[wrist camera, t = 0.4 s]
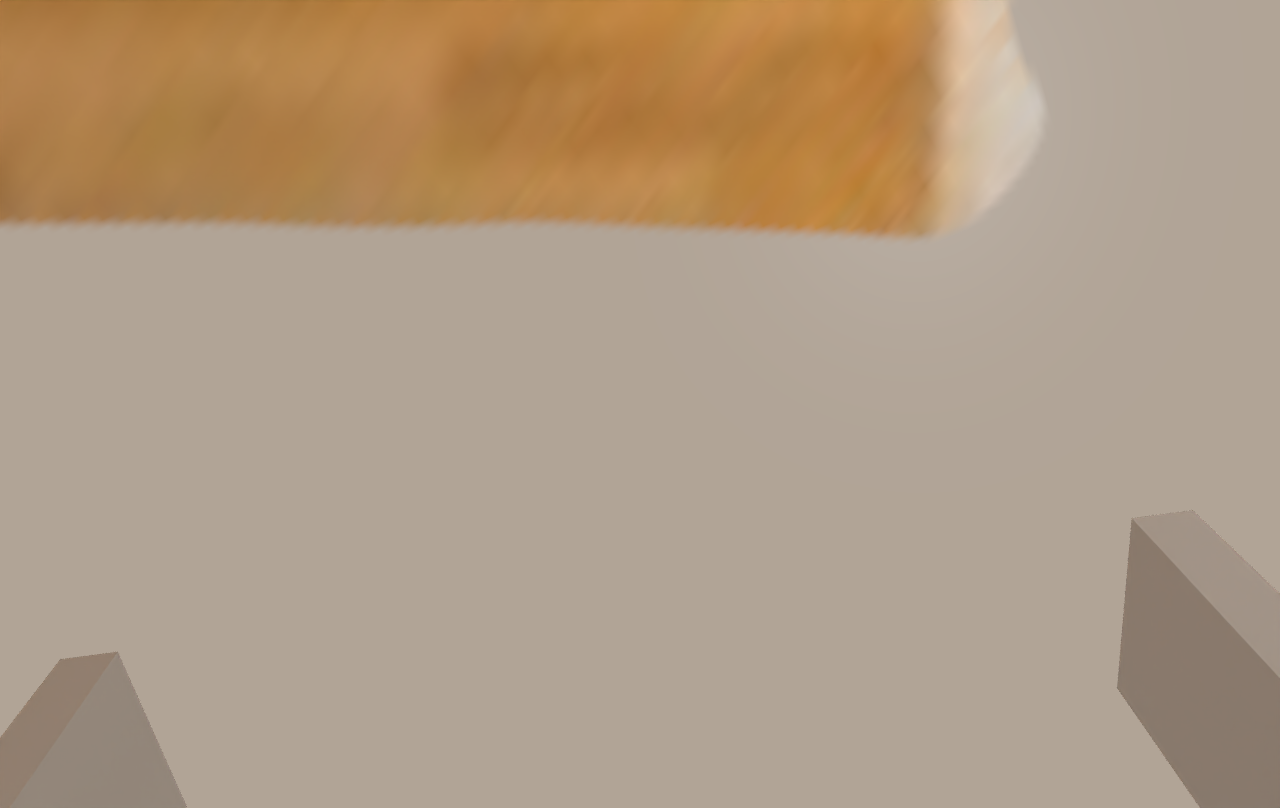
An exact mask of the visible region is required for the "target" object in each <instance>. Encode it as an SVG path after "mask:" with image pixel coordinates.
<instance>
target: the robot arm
mask: <svg viewBox="0 0 1280 808" xmlns="http://www.w3.org/2000/svg"><path fill="white" fill-rule="evenodd" d="M1117 689H1118V690H1119V692H1120V693H1121V694H1122V696H1123V697H1124V699H1125V700H1126V702H1127V703H1128V705H1129V706H1130V707H1131V709H1132V710H1133V712H1134V713H1135V715H1136V716H1137V717H1138V719H1139V720H1140V722H1141V723H1142V725H1143V726H1144V727H1145V729H1146V730H1147V732H1148V733H1149V735H1150V736H1151V737H1152V739H1153V741H1154V742H1155V743H1156V745H1157V746H1158V748H1159V749H1160V751H1161V752H1162V754H1163V755H1164V756H1165V758H1166V759H1167V761H1168V762H1169V764H1170V765H1171V767H1172V768H1173V769H1174V771H1175V772H1176V774H1177V775H1178V777H1179V778H1180V779H1181V781H1182V782H1183V784H1184V785H1185V787H1186V788H1187V789H1188V791H1189V793H1190V794H1191V795H1192V797H1193V798H1194V799H1195V801H1196V803H1197V804H1198V805H1199V807H1200V808H1280V593H1279V592H1278V591H1277V590H1276V589H1275V588H1274V587H1273V586H1271V585H1270V584H1269V583H1268V582H1267V581H1266V580H1265V579H1264V578H1263V577H1262V576H1261V575H1260V574H1259V573H1258V572H1257V571H1256V570H1255V569H1254V568H1253V567H1252V566H1251V565H1249V564H1248V563H1247V562H1246V561H1245V560H1244V559H1243V558H1242V557H1241V556H1240V555H1239V554H1238V553H1237V552H1236V551H1235V550H1234V549H1233V548H1232V547H1231V546H1230V545H1229V544H1227V542H1226V541H1224V540H1223V539H1222V538H1221V537H1220V536H1219V535H1218V534H1217V533H1216V532H1215V531H1214V530H1213V529H1212V528H1211V527H1210V526H1209V525H1208V524H1207V523H1205V522H1204V520H1202V519H1201V518H1200V517H1199V516H1198V515H1197V514H1196V513H1195V512H1194V511H1193V510H1190V511H1183V512H1176V513H1168V514H1160V515H1152V516H1145V517H1137V518H1132V522H1131V533H1130V545H1129V557H1128V569H1127V579H1126V591H1125V604H1124V614H1123V626H1122V638H1121V650H1120V661H1119V672H1118V684H1117ZM186 807H187V806H186V804H185V801H184V799H183V797H182V795H181V792H180V790H179V788H178V786H177V784H176V781H175V779H174V777H173V775H172V772H171V770H170V768H169V766H168V764H167V761H166V759H165V757H164V755H163V752H162V750H161V748H160V746H159V743H158V741H157V739H156V737H155V735H154V732H153V730H152V728H151V725H150V723H149V721H148V719H147V717H146V714H145V712H144V710H143V708H142V705H141V703H140V701H139V698H138V696H137V694H136V692H135V689H134V687H133V685H132V683H131V680H130V678H129V676H128V674H127V672H126V669H125V667H124V665H123V663H122V660H121V658H120V656H119V654H118V652H113V653H105V654H98V655H90V656H83V657H75V658H67V659H60V660H59V662H58V663H57V664H56V666H55V667H54V668H53V670H52V671H51V672H50V673H49V675H48V676H47V677H46V679H45V680H44V681H43V683H42V684H41V685H40V686H39V688H38V689H37V690H36V692H35V693H34V694H33V696H32V697H31V698H30V700H29V701H28V702H27V704H26V705H25V706H24V708H23V709H22V710H21V712H20V713H19V714H18V715H17V717H16V718H15V719H14V720H13V722H12V723H11V724H10V726H9V727H8V728H7V730H6V731H5V733H4V734H3V735H2V736H1V738H0V808H186Z"/></svg>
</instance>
